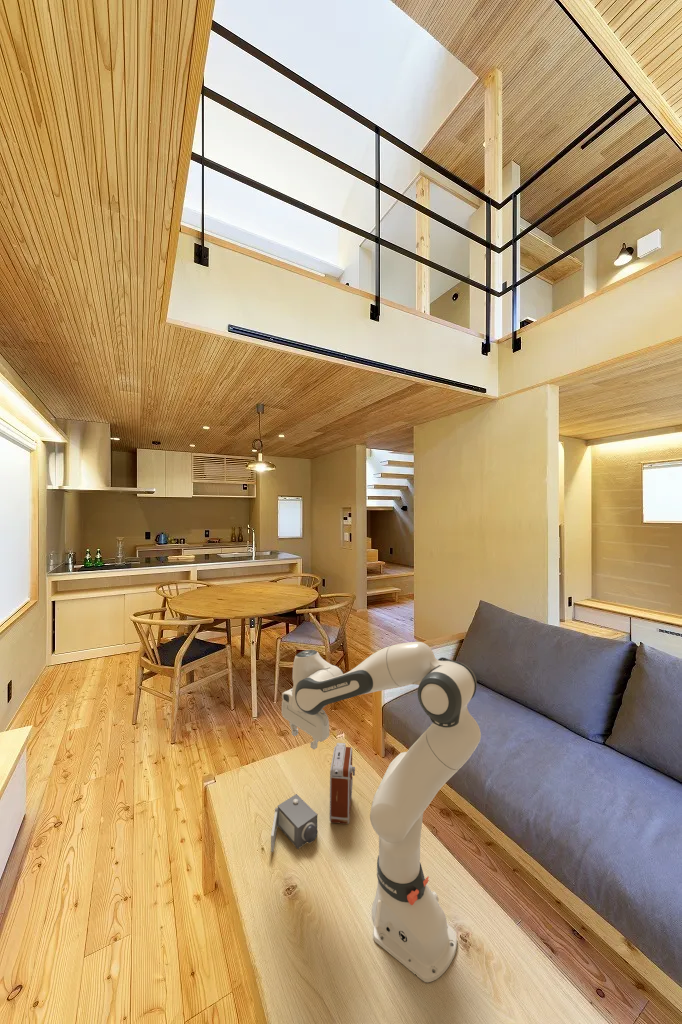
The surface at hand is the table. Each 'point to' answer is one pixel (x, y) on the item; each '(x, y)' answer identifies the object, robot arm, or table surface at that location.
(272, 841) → the side door
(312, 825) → the camera body
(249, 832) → the table surface
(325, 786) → the table surface
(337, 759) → the cine camera
